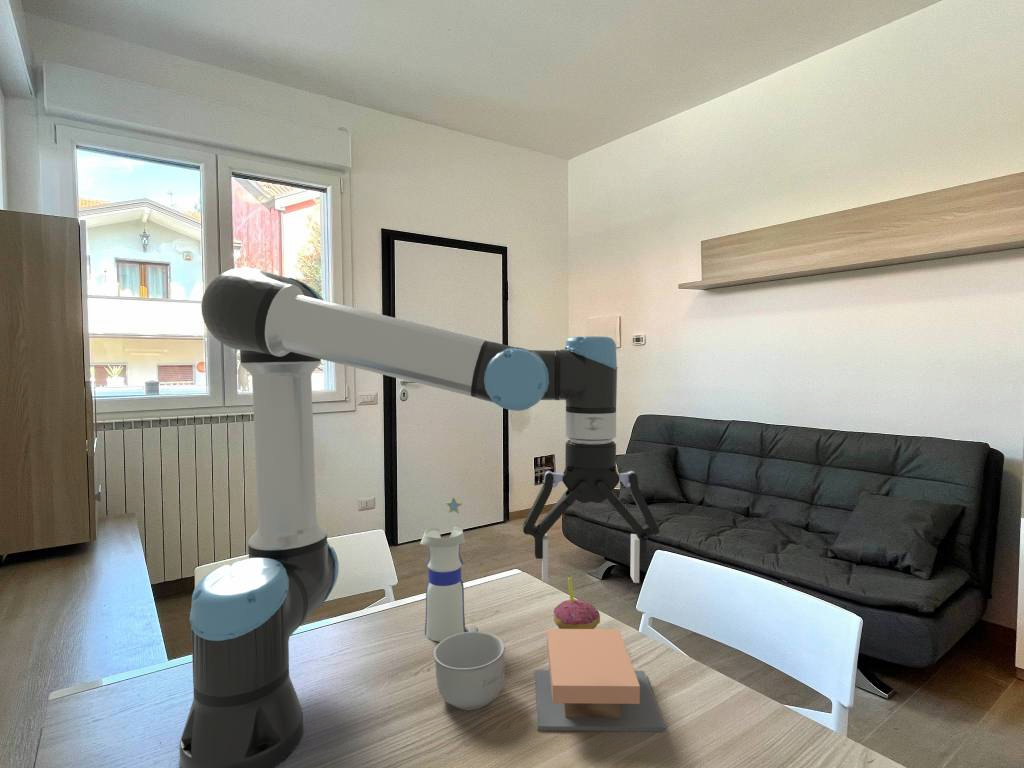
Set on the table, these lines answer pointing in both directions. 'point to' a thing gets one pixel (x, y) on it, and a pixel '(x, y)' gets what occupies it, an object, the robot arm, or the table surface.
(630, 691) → the lid
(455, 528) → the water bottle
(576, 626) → the cupcake
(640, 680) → the mat
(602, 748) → the table surface
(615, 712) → the brown wooden block
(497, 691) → the teacup
